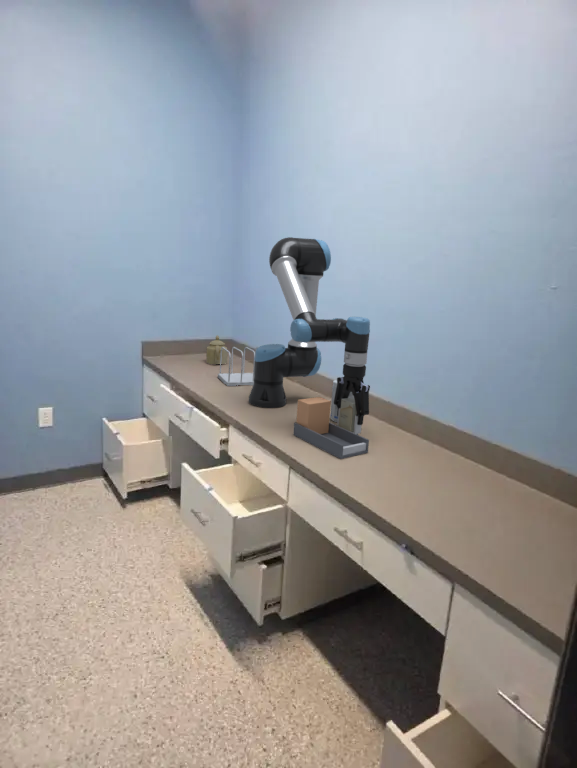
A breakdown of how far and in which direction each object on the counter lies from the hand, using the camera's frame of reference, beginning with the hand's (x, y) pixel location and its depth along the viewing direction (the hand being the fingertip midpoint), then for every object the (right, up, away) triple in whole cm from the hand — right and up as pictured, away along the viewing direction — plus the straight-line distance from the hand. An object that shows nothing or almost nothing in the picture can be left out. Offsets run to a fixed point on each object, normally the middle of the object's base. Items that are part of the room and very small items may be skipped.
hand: (348, 429), depth 180 cm
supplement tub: (0, +2, +16) cm, 16 cm away
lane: (-7, -4, -10) cm, 13 cm away
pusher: (-13, -1, -3) cm, 13 cm away
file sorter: (-40, +17, +67) cm, 79 cm away
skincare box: (0, -2, 0) cm, 2 cm away
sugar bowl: (-58, +26, +100) cm, 119 cm away
